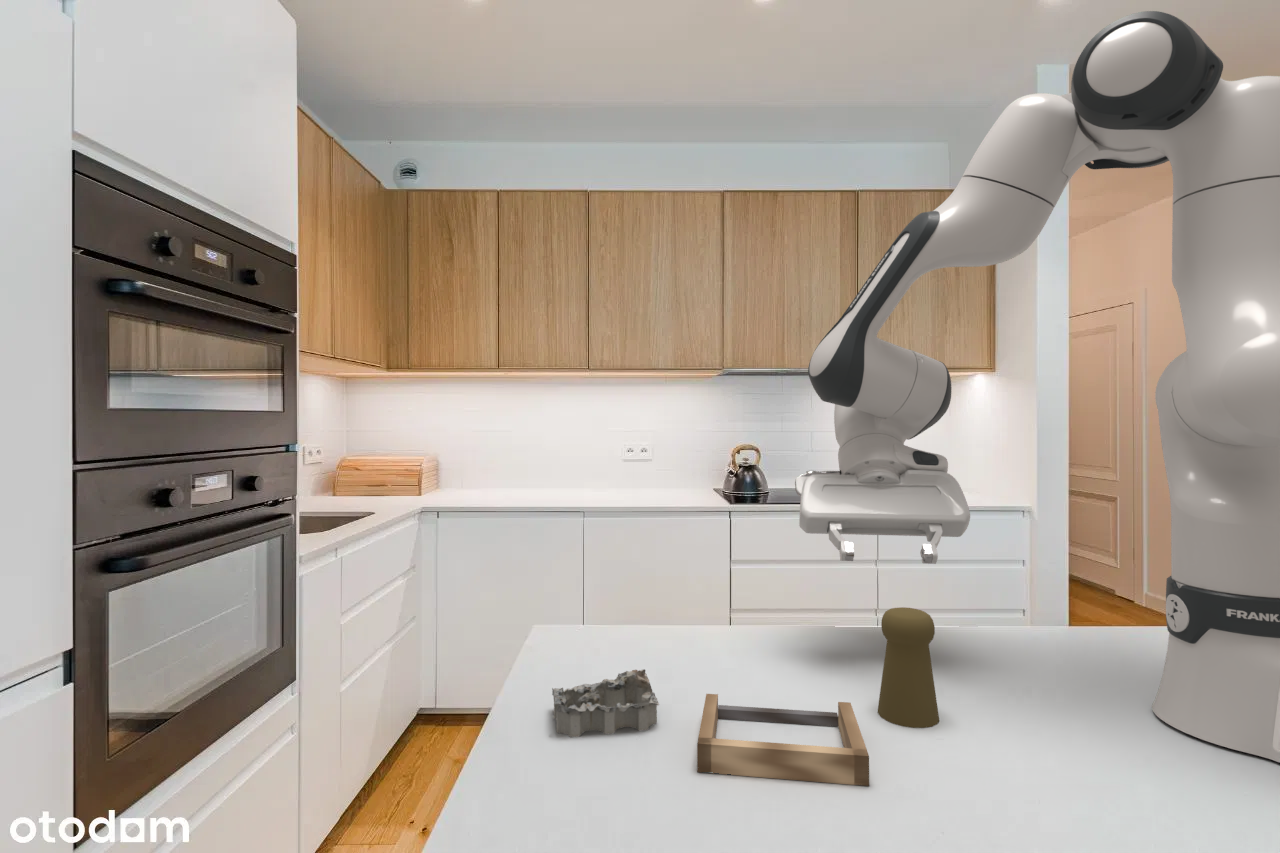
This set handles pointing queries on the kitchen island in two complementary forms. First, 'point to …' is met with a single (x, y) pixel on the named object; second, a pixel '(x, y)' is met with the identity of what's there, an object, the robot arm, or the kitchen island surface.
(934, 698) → the cork
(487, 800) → the kitchen island surface
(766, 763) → the bay
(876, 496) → the robot arm
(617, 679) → the egg carton
